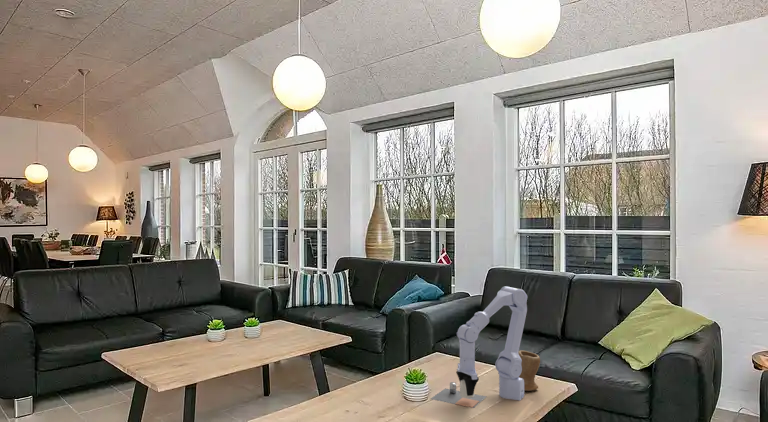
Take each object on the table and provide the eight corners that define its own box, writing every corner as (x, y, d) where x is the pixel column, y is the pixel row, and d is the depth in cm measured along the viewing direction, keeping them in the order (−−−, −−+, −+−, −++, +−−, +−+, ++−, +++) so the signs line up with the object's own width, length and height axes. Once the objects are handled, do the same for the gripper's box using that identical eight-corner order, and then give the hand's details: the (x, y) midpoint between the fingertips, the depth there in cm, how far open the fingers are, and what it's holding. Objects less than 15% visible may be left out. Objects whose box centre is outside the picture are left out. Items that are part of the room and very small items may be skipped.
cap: (475, 397, 193) (475, 382, 193) (463, 398, 192) (463, 383, 192) (470, 393, 198) (470, 378, 198) (458, 394, 197) (458, 379, 197)
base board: (486, 399, 202) (486, 396, 202) (473, 411, 190) (473, 408, 190) (445, 391, 211) (445, 388, 211) (430, 401, 199) (430, 398, 199)
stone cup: (546, 390, 212) (546, 354, 212) (521, 394, 208) (521, 357, 208) (524, 379, 226) (524, 345, 226) (501, 382, 222) (501, 348, 222)
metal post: (457, 392, 206) (457, 382, 206) (454, 394, 204) (454, 384, 204) (451, 391, 207) (451, 381, 207) (448, 393, 205) (448, 383, 205)
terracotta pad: (479, 401, 196) (479, 401, 196) (472, 407, 190) (472, 406, 190) (462, 398, 200) (462, 397, 200) (455, 404, 194) (455, 403, 194)
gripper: (450, 352, 201) (450, 387, 201) (464, 363, 187) (464, 400, 187) (467, 351, 203) (467, 385, 203) (482, 361, 189) (482, 398, 189)
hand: (467, 392), depth 195 cm, fingers closed on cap, 5 cm apart
